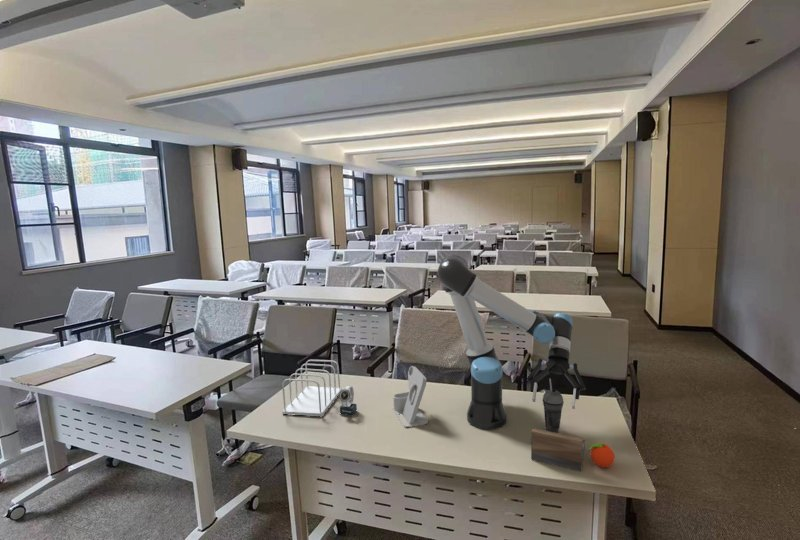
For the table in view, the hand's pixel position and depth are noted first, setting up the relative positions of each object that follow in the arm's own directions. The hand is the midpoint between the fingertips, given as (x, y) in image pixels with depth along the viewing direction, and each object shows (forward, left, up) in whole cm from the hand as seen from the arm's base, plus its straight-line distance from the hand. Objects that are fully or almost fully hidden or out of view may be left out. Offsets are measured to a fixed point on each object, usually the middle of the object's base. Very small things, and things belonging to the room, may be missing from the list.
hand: (553, 404), depth 154 cm
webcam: (-77, -17, -11) cm, 80 cm away
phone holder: (-53, -9, -11) cm, 55 cm away
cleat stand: (+4, -12, -11) cm, 17 cm away
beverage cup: (0, +2, -11) cm, 11 cm away
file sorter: (-97, -16, -11) cm, 98 cm away
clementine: (+16, -14, -11) cm, 25 cm away
